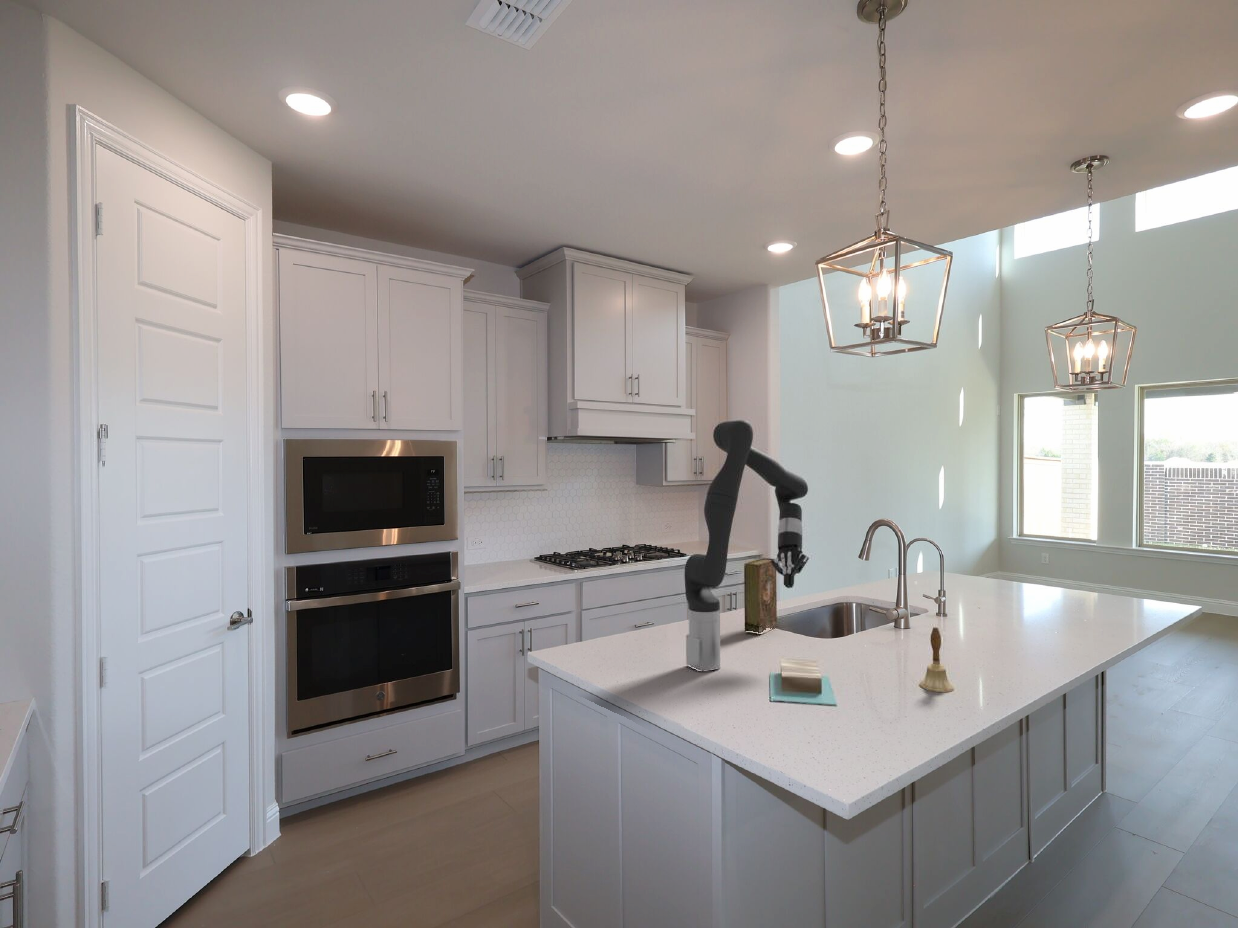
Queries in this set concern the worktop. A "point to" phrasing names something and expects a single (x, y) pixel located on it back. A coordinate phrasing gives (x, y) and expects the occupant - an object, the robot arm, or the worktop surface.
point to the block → (800, 676)
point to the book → (760, 595)
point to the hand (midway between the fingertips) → (788, 586)
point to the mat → (801, 697)
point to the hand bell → (936, 668)
